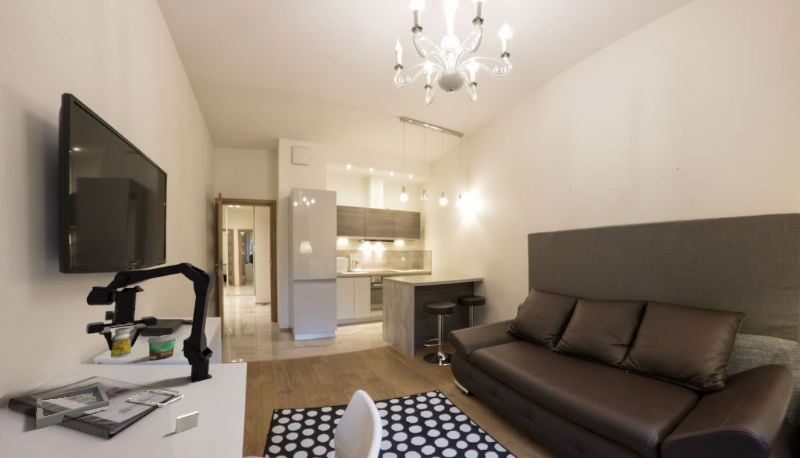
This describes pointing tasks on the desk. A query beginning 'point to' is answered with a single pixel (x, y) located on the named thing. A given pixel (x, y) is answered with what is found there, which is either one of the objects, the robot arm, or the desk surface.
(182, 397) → the phone case
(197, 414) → the eraser
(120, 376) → the desk surface
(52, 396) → the tray
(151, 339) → the food container
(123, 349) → the supplement bottle
